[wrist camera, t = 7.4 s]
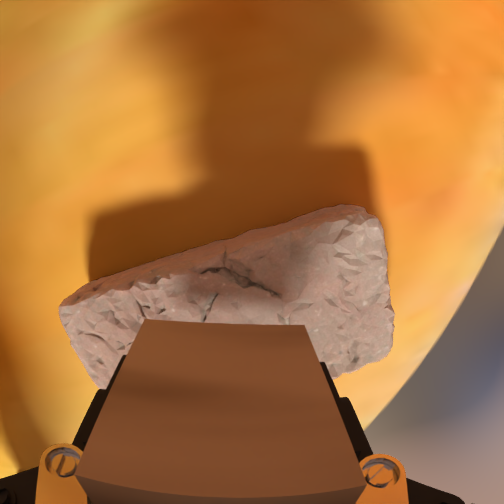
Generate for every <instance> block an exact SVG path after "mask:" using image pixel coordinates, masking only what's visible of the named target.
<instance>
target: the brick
mask: <svg viewBox="0 0 504 504" xmlns="http://www.w3.org/2000/svg"><path fill="white" fill-rule="evenodd" d="M387 256H388V253H387V250H386V246H385V240H384V231H383V227H382V225H381V222H380V221H379V220H378V218H377V217H376V216H375V215H372V214H368V213H367V211H366V210H365V208H364V207H361V206H357V205H351V204H349V205H344V204H339V205H337V206H334V207H326V208H322V209H319V210H316V211H313V212H310V213H307V214H304V215H302V216H299V217H296V218H294V219H292V220H290V221H288V222H287V223H281V224H278V225H275V226H270V227H265V228H258V229H252V230H249V231H247V232H245V233H243V234H241V235H239V236H237V237H235V238H232V239H226V240H218V241H214V242H211V243H209V244H206V245H203V246H200V247H196V248H192V249H189V250H187V251H184V252H181V253H176V254H173V255H170V256H167V257H164V258H159V259H157V260H156V261H152V262H149V263H146V264H143V265H140V266H137V267H133V268H130V269H127V270H125V271H122V272H119V273H116V274H113V275H111V276H107V277H101V278H100V279H98V280H93V281H91V282H89V283H87V284H85V285H84V286H82V287H81V288H79V289H78V290H77V291H76V292H75V293H73V294H72V295H70V296H69V297H67V298H66V299H64V300H63V301H62V303H61V304H60V306H59V316H60V319H61V322H62V325H63V327H64V329H65V331H66V333H67V335H68V336H69V338H70V341H71V346H72V347H73V349H74V350H75V352H76V353H77V355H78V357H79V359H80V360H81V362H82V363H83V365H84V367H85V369H86V370H87V372H88V374H89V376H90V377H91V379H92V380H93V382H94V383H95V384H96V386H97V387H98V388H99V389H106V388H107V386H108V384H109V382H110V380H111V378H112V376H113V374H114V372H115V369H116V367H117V365H118V363H119V361H120V359H121V357H122V356H123V355H127V354H128V352H129V350H130V347H131V345H132V343H133V341H134V339H135V337H136V335H137V333H138V331H139V329H140V327H141V325H142V323H143V322H144V320H145V319H154V320H168V321H183V322H202V323H225V324H261V325H305V327H306V330H307V332H308V335H309V337H310V340H311V342H312V345H313V347H314V350H315V352H316V355H317V357H318V360H319V362H325V364H326V366H327V368H328V371H329V373H330V375H331V378H332V380H333V379H335V378H338V377H339V376H340V375H341V374H342V373H352V372H354V371H356V370H359V369H360V368H362V367H363V366H365V365H366V364H368V363H373V362H377V361H380V360H381V359H383V358H384V357H386V356H387V355H388V353H389V352H390V350H391V348H392V345H393V331H394V324H393V321H394V314H395V313H394V311H393V308H392V306H391V300H390V294H389V293H390V287H389V282H388V275H387Z"/></svg>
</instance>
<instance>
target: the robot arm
mask: <svg viewBox="0 0 504 504" xmlns="http://www.w3.org/2000/svg"><path fill="white" fill-rule="evenodd" d="M126 356H127V355H123V356H122V357H121V359H120V361H119V363H118V365H117V367H116V369H115V372H114V374H113V376H112V378H111V380H110V382H109V384H108V386H107V388H106V389H99V390H98V391H97V393H96V395H95V397H94V399H93V401H92V403H91V405H90V407H89V409H88V411H87V413H86V415H85V417H84V419H83V421H82V423H81V425H80V428H79V430H78V432H77V434H76V436H75V438H74V441H73V443H72V444H66V443H61V444H55V445H53V446H50V447H49V448H47V449H46V450H45V451H44V452H43V454H42V456H41V459H40V463H39V466H38V467H35V468H33V469H30V470H27V471H24V472H21V473H18V474H15V475H11V476H8V477H5V478H2V479H0V504H93V503H92V502H91V500H90V499H89V497H88V496H87V494H86V493H85V491H84V490H83V488H82V486H81V485H80V483H79V482H78V480H77V478H76V477H75V475H74V473H75V471H76V468H77V466H78V463H79V461H80V458H81V456H82V454H83V451H84V449H85V446H86V444H87V442H88V439H89V437H90V434H91V432H92V430H93V427H94V425H95V423H96V421H97V418H98V416H99V414H100V411H101V409H102V407H103V405H104V403H105V400H106V398H107V396H108V394H109V392H110V389H111V387H112V385H113V383H114V381H115V379H116V377H117V374H118V372H119V370H120V368H121V366H122V364H123V362H124V360H125V358H126ZM320 365H321V367H322V370H323V372H324V375H325V377H326V380H327V382H328V385H329V387H330V390H331V392H332V395H333V397H334V400H335V402H336V405H337V407H338V410H339V413H340V415H341V418H342V420H343V423H344V425H345V428H346V431H347V433H348V436H349V438H350V441H351V444H352V446H353V449H354V451H355V454H356V457H357V459H358V462H359V465H360V467H361V470H362V473H363V475H364V478H365V481H366V483H367V486H366V488H365V489H364V491H363V492H362V494H361V496H360V497H359V499H358V500H357V502H356V503H355V504H465V503H464V501H462V500H461V499H460V498H459V497H457V496H455V495H453V494H449V493H447V492H444V491H441V490H437V489H435V488H432V487H429V486H426V485H424V484H421V483H418V482H416V481H413V480H410V479H408V478H406V474H405V470H404V467H403V465H402V464H401V463H400V461H398V460H397V459H396V458H394V457H392V456H389V455H384V454H373V452H372V450H371V448H370V445H369V443H368V441H367V438H366V436H365V434H364V431H363V429H362V427H361V424H360V422H359V420H358V418H357V415H356V413H355V411H354V409H353V406H352V404H351V402H350V400H349V398H347V397H342V398H340V397H339V394H338V392H337V390H336V387H335V385H334V382H333V380H332V378H331V375H330V373H329V371H328V368H327V366H326V364H325V362H320ZM471 504H473V503H471Z"/></svg>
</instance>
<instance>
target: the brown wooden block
mask: <svg viewBox="0 0 504 504" xmlns="http://www.w3.org/2000/svg"><path fill="white" fill-rule="evenodd" d="M74 475H75V477H76V478H77V480H78V482H79V483H80V485H81V486H82V488H83V490H84V491H85V493H86V494H87V496H88V497H89V499H90V500H91V502H92V503H93V504H355V503H356V502H357V500H358V499H359V497H360V496H361V494H362V492H363V491H364V489H365V488H366V486H367V483H366V481H365V478H364V475H363V473H362V470H361V467H360V465H359V462H358V459H357V457H356V454H355V451H354V449H353V446H352V444H351V441H350V438H349V436H348V433H347V431H346V428H345V425H344V423H343V420H342V418H341V415H340V413H339V410H338V407H337V405H336V402H335V400H334V397H333V395H332V392H331V390H330V387H329V385H328V382H327V380H326V377H325V375H324V372H323V370H322V367H321V365H320V362H319V360H318V357H317V355H316V352H315V350H314V347H313V345H312V342H311V340H310V337H309V335H308V332H307V330H306V327H305V325H261V324H225V323H202V322H183V321H168V320H154V319H145V320H144V322H143V323H142V325H141V327H140V329H139V331H138V333H137V335H136V337H135V339H134V341H133V343H132V345H131V347H130V350H129V352H128V354H127V356H126V358H125V360H124V362H123V364H122V366H121V368H120V370H119V372H118V374H117V377H116V379H115V381H114V383H113V385H112V387H111V389H110V392H109V394H108V396H107V398H106V400H105V403H104V405H103V407H102V409H101V411H100V414H99V416H98V418H97V421H96V423H95V425H94V427H93V430H92V432H91V434H90V437H89V439H88V442H87V444H86V446H85V449H84V451H83V454H82V456H81V458H80V461H79V463H78V466H77V468H76V471H75V473H74Z"/></svg>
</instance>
